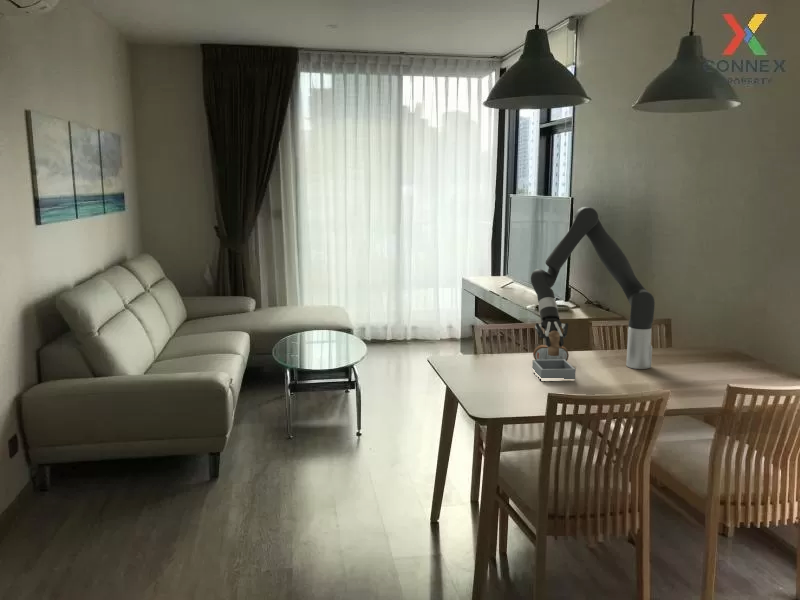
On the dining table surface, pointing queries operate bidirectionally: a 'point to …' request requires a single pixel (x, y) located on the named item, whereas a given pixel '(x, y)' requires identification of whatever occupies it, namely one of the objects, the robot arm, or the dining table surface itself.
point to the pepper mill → (554, 343)
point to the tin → (542, 354)
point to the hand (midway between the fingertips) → (555, 345)
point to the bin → (553, 369)
